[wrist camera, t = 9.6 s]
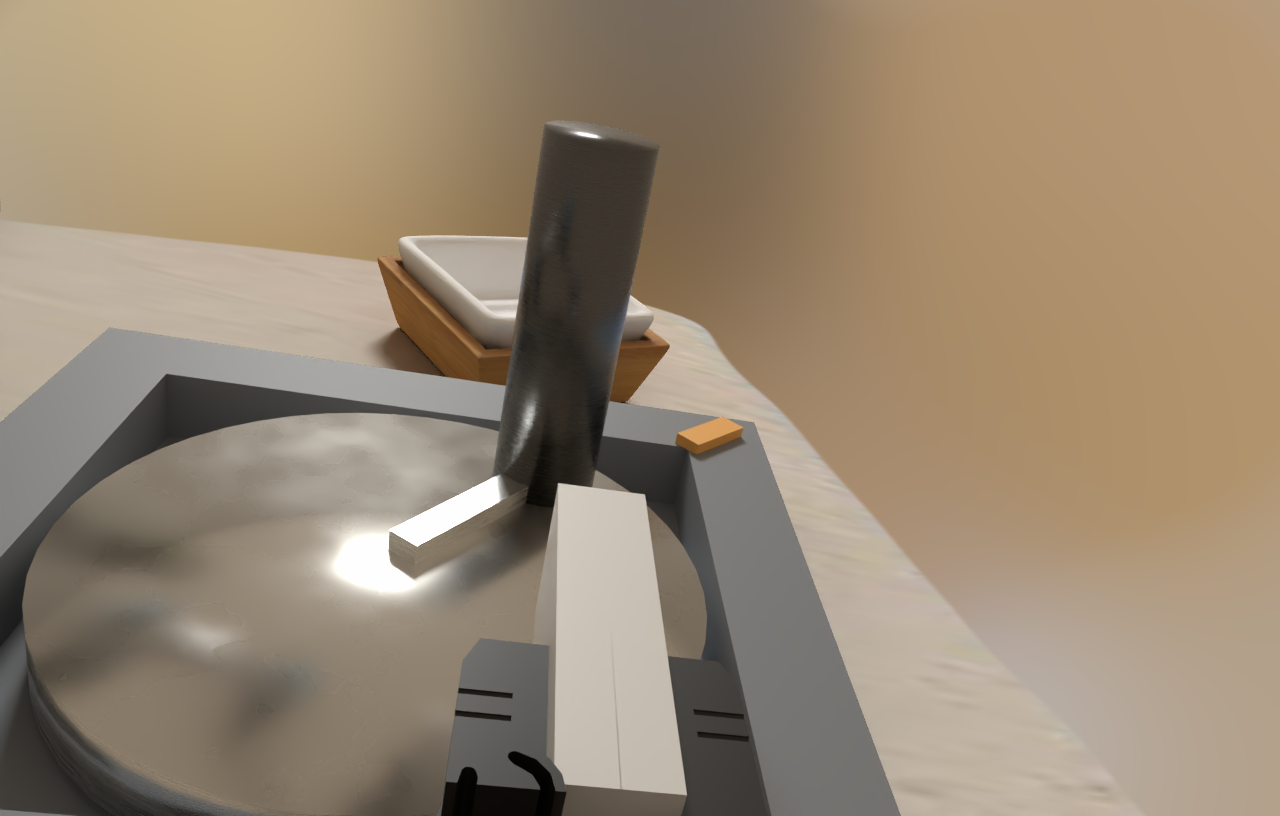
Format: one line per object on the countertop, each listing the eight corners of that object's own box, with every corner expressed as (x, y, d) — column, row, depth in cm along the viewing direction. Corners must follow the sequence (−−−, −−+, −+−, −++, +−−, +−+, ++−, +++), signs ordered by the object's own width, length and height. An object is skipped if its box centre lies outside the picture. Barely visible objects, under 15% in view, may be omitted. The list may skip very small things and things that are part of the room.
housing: (-514, 1102, 16) (-604, 919, 14) (112, 423, 37) (109, 317, 36) (914, 1161, 19) (989, 1019, 17) (731, 506, 41) (756, 413, 39)
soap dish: (656, 415, 48) (678, 318, 46) (467, 435, 42) (482, 326, 40) (538, 316, 57) (552, 230, 55) (370, 321, 51) (378, 227, 49)
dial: (388, 1066, 17) (483, 380, 12) (-122, 611, 24) (-211, 54, 19) (789, 624, 31) (917, 217, 25) (389, 418, 38) (423, 65, 32)
